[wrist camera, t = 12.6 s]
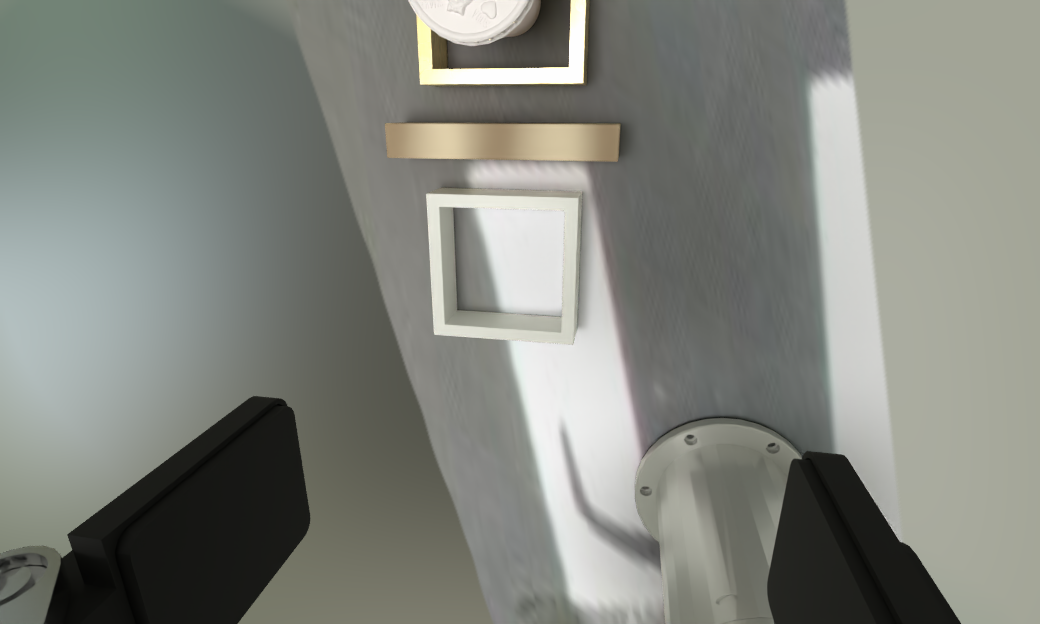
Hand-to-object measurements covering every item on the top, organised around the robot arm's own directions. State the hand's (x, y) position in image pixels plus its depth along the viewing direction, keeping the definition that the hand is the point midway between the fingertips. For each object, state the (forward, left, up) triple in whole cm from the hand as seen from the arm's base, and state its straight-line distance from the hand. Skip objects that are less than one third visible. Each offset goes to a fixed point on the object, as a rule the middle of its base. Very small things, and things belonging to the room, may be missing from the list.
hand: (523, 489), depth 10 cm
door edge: (+6, -5, -28) cm, 29 cm away
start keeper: (+6, +3, -28) cm, 29 cm away
